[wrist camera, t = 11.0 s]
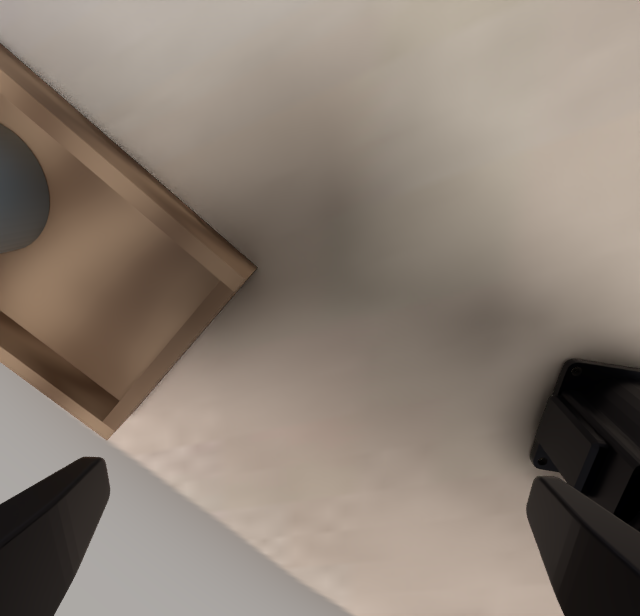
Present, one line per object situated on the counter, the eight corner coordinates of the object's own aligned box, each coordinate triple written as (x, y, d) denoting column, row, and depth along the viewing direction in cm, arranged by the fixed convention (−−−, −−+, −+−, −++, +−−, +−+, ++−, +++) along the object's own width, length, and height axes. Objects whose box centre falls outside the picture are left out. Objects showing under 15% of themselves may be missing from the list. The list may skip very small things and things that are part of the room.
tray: (257, 267, 20) (244, 279, 18) (131, 414, 24) (106, 440, 21) (-97, -41, 17) (-168, -76, 15) (-183, 176, 21) (-253, 176, 18)
